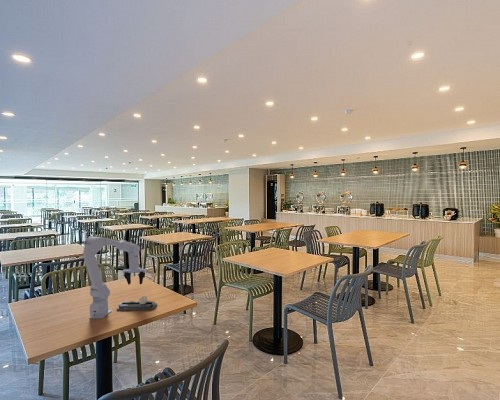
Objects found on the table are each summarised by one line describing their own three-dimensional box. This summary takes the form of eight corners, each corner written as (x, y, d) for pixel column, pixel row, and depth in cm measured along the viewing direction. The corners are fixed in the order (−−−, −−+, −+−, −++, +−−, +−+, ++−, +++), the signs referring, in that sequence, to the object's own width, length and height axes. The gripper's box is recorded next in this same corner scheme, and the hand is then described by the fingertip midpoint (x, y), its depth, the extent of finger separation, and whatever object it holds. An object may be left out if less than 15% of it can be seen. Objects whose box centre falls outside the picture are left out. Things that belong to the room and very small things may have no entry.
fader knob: (144, 306, 162) (144, 298, 162) (139, 306, 163) (139, 298, 162) (147, 304, 166) (147, 296, 166) (142, 304, 166) (142, 296, 166)
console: (151, 310, 160) (151, 306, 160) (116, 310, 162) (116, 306, 162) (157, 305, 168) (157, 300, 168) (123, 305, 170) (123, 300, 170)
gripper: (147, 260, 181) (149, 281, 181) (126, 261, 182) (127, 282, 182) (142, 263, 174) (144, 285, 174) (120, 264, 175) (121, 285, 175)
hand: (135, 284), depth 178 cm, fingers open, 7 cm apart
